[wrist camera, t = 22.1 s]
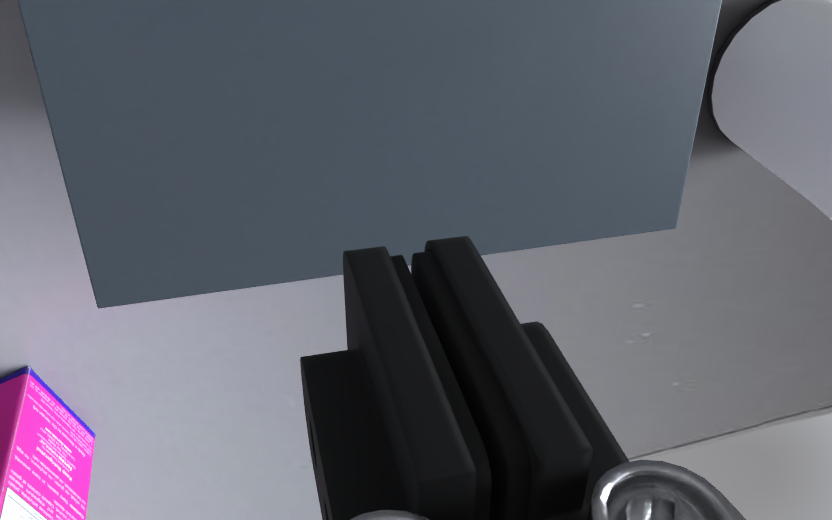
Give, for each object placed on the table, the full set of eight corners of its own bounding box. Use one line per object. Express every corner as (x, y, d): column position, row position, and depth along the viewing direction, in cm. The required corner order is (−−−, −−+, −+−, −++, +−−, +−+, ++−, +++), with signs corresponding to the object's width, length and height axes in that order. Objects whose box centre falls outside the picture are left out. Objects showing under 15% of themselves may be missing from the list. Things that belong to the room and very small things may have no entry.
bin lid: (99, 294, 23) (97, 309, 23) (-28, -203, 17) (-36, -202, 16) (664, 217, 27) (676, 228, 27) (746, -210, 20) (764, -209, 20)
